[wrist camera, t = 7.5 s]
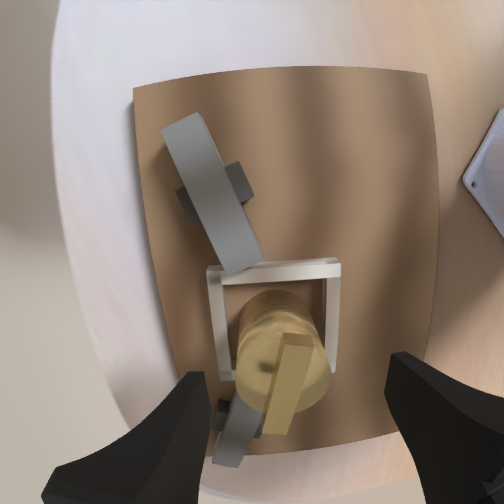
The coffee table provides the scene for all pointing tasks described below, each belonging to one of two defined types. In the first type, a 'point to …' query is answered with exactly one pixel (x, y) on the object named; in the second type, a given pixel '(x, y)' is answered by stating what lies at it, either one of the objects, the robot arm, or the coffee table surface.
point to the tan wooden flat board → (293, 231)
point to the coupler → (279, 359)
